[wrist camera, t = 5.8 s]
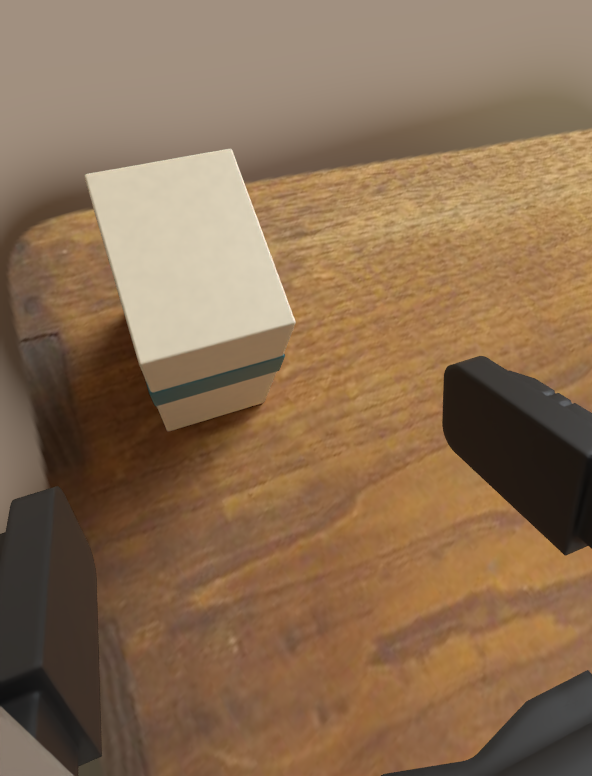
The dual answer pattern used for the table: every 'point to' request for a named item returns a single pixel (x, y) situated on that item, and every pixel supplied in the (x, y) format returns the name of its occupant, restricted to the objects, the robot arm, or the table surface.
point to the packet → (194, 283)
